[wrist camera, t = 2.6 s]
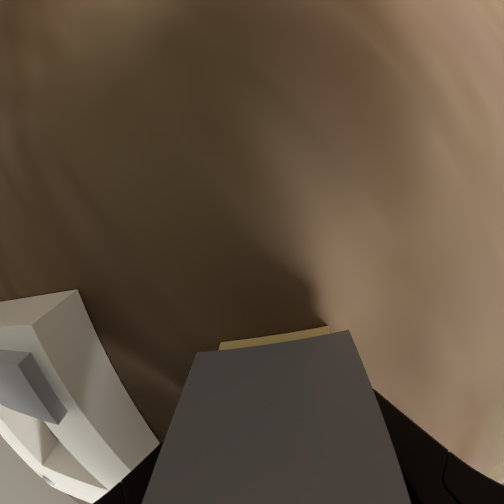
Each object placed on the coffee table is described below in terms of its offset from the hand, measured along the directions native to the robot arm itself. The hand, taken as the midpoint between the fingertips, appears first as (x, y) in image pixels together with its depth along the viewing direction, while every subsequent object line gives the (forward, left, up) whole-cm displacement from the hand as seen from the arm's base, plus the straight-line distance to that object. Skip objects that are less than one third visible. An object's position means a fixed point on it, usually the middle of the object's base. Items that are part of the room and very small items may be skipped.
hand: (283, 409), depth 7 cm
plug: (0, 0, -2) cm, 2 cm away
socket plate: (-3, +12, -2) cm, 12 cm away
